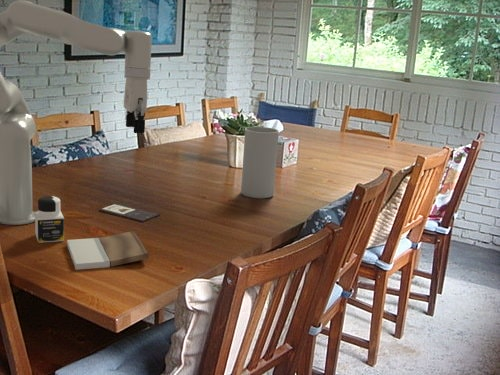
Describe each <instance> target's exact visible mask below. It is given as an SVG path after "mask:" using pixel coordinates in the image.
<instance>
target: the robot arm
mask: <svg viewBox="0 0 500 375" xmlns="http://www.w3.org/2000/svg"><path fill="white" fill-rule="evenodd" d="M26 34H31V35H34V36H38V37H42V38H45V39H49V40H52V41H54V42H55V41H56V42H59V43H62V44H65V45H70V46H73V47H77V48H80V49H84V50H87V51H91V52H94V53H98V54H103V55H106V56H116V55H119V54H124V75H123V76H124V79H125V84H124V97H123V108H124V109H125V110H126V115H125V127H126V128H133V133H134V134H144V133H145V132H146V112H147V107H148V106H147V105H148V81H149V80H150V79H151V63H152V62H151V61H152V43H153V42H152V41H153V40H152V39H153V38H152V34H151V33H150V32H147V31H143V30H142V31H141V30H125V29H120V28H116V27H108V26H103V25H100V24H96V23H92V22H89V21H86V20H84V19H81V18H78V17H76V16H74V15H73V14H70V13H68V12H65V11H62V10H59V9H54V8H52V7H51V8H50V7H49V6H44V5H40V4H36V3H34V2H32V1H30V0H15V1H13V2H11V3H10V4H9V5H8V7H7V9H6V10H3V11H2V12H0V48H1V47H3V46H5V45H7V44H9V43H10V42H12V41H14V40H16V39H19V38H20V37H22V36H24V35H26ZM36 125H37V124H36V122H35V119H34V117H33V115H32V112H31V110H30V109H29V107H28V104H27V102H26V100H25V98H24V96H23V94H22V92H21V91H20V89H19V88H18V86H17V85H16V84H15V83H13V82H11V81H9V80H7V79H5V78H4V76H3V74H2V72H1V70H0V224H2V225H9V226H10V225H11V226H16V225H17V226H18V225H26V224H31V223H33V222H34V223H35V212H36V211H34V209H33V208H34V207H33V168H32V166H33V165H32V164H33V163H32V150H31V140H32V139H33V138H34V136H35V134H36V131H37V126H36Z"/></svg>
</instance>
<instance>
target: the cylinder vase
mask: <svg viewBox="0 0 500 375" xmlns="http://www.w3.org/2000/svg"><path fill="white" fill-rule="evenodd" d="M279 132H280V131H279V129H276V128H273V127H268V126H267V127H266V126H265V127H264V126H248V127H247V126H246V127H245V128H244V139H243V141H244V142H243V156H242V169H241V183H240V193H241V195H243V196H244V197H247V198H251V199H260V200H261V199H268V198H271V197H273V196H274V193H275V192H274V191H275V182H276V169H277V159H278V158H277V156H278V147H279V146H278V143H279Z"/></svg>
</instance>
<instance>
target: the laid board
mask: <svg viewBox="0 0 500 375" xmlns="http://www.w3.org/2000/svg"><path fill="white" fill-rule="evenodd" d="M99 238H100V237H93V238H92V237H91V238H79V239H77V238H75V239H66V246H67V249H68V252H69V255H70V257H71V260H72V264H73V265H74V269H75V270H76V271H78V270H87V269H88V270H89V269H100V268H101V269H103V268H110V267H111V265H110V260H109V258H108V256H107V254H106V252H105V250H104V248H103V246H102V244H101V242H100V240H99Z"/></svg>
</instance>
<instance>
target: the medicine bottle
mask: <svg viewBox="0 0 500 375" xmlns="http://www.w3.org/2000/svg"><path fill="white" fill-rule="evenodd" d="M34 212H35V221H34V224H35V226H34V227H35V228H34V229H35V233H34V234H35V237H36V240H37V243H40V244H42V243H54V242H64V241H65V217H64V215H63V213H62V211H61V199H60V198H59V197H57V196H54V195H47V196H43V197H40V198H39V199H38V200H37V211H34Z"/></svg>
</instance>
